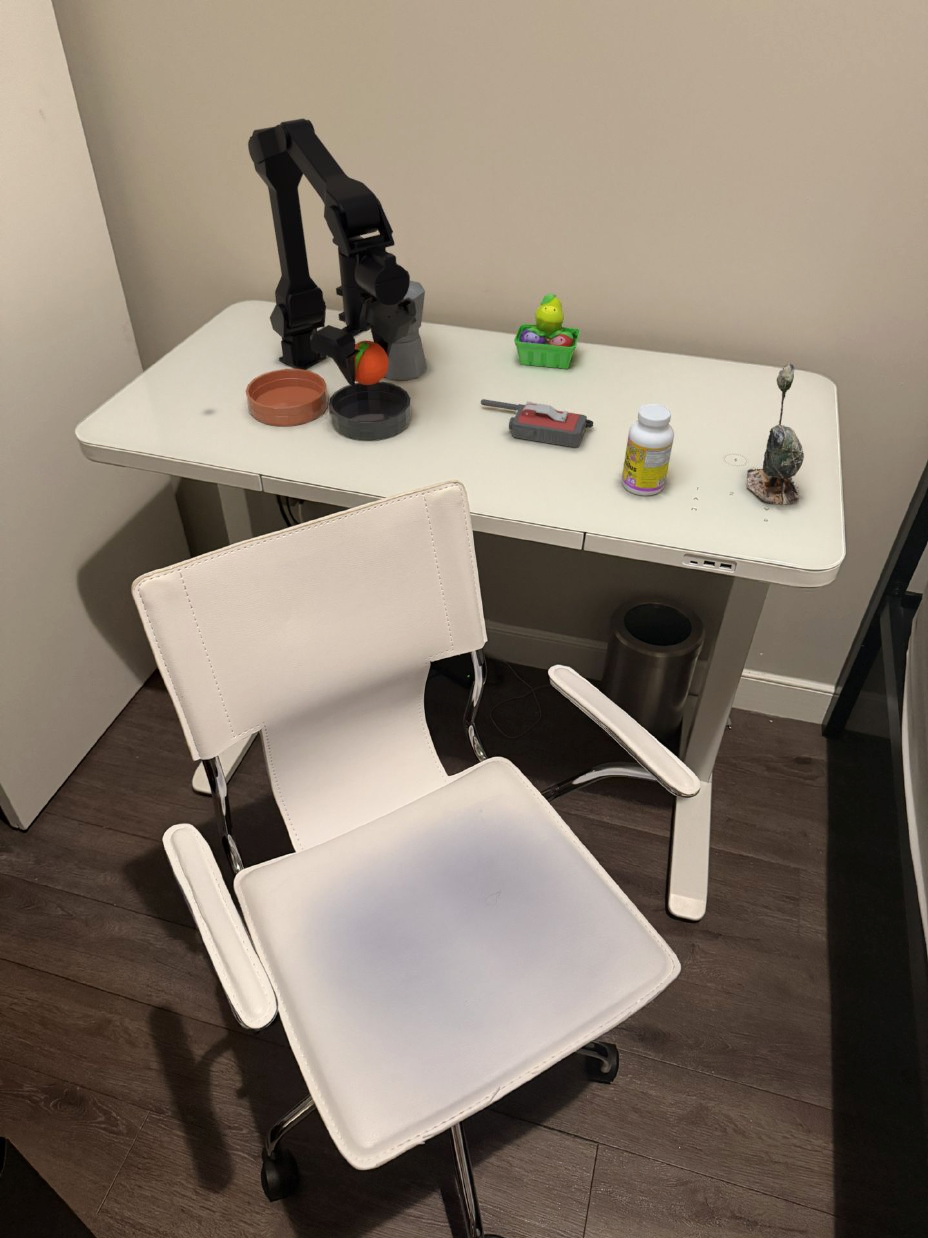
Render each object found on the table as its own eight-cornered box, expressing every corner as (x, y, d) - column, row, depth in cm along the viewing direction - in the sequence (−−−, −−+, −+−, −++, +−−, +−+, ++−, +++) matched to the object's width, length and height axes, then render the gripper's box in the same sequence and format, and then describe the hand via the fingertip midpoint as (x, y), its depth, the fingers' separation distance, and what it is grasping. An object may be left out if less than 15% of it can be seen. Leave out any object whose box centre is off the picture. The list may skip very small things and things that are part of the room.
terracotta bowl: (288, 379, 162) (285, 361, 159) (344, 402, 156) (342, 383, 154) (232, 410, 154) (229, 392, 151) (289, 435, 148) (286, 416, 146)
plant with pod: (742, 509, 133) (773, 388, 119) (745, 468, 141) (776, 350, 127) (798, 518, 131) (837, 396, 118) (799, 476, 139) (835, 357, 125)
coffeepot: (422, 388, 160) (419, 289, 147) (370, 385, 160) (362, 286, 148) (433, 348, 171) (431, 253, 158) (385, 345, 171) (379, 251, 159)
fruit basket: (512, 367, 165) (514, 308, 157) (520, 345, 172) (523, 287, 164) (573, 373, 163) (578, 314, 156) (579, 351, 170) (584, 293, 162)
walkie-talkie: (595, 423, 151) (482, 405, 155) (598, 400, 148) (482, 382, 152) (584, 451, 145) (467, 431, 149) (587, 427, 142) (467, 407, 146)
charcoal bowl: (366, 391, 159) (365, 373, 156) (427, 415, 153) (426, 396, 150) (314, 424, 151) (312, 405, 148) (376, 450, 145) (374, 431, 142)
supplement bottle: (617, 473, 140) (627, 400, 131) (658, 471, 140) (671, 398, 131) (626, 498, 135) (637, 424, 126) (669, 496, 135) (683, 422, 127)
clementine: (378, 398, 143) (375, 357, 138) (338, 392, 145) (334, 351, 140) (395, 375, 149) (393, 335, 144) (357, 369, 150) (353, 329, 146)
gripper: (359, 316, 126) (367, 413, 137) (439, 273, 137) (441, 366, 148) (302, 296, 131) (314, 392, 142) (383, 256, 142) (389, 348, 153)
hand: (367, 374), depth 146 cm, fingers closed on clementine, 7 cm apart
